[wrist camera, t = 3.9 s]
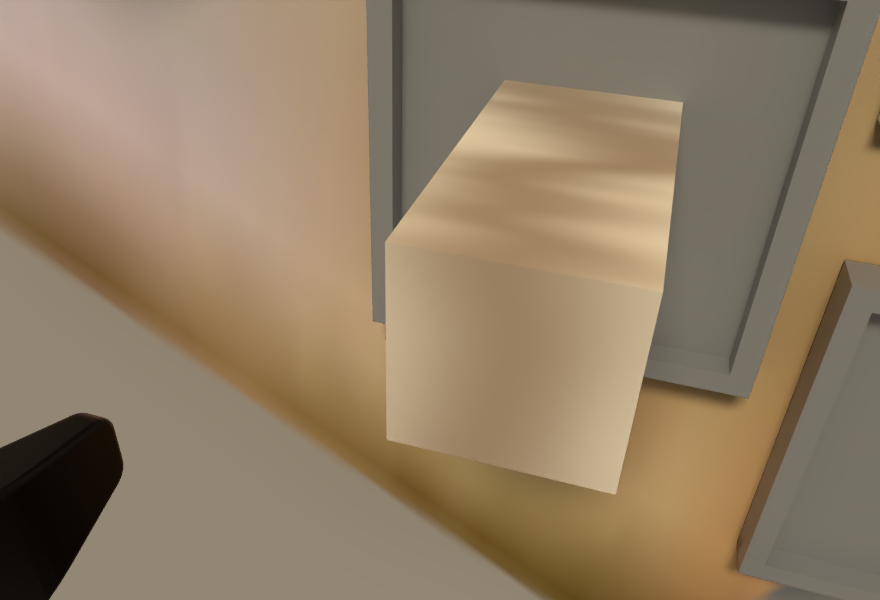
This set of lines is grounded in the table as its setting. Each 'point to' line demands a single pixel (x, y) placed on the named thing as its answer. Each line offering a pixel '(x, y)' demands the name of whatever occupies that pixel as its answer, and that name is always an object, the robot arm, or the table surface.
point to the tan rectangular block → (533, 283)
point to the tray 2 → (827, 459)
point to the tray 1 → (700, 142)
